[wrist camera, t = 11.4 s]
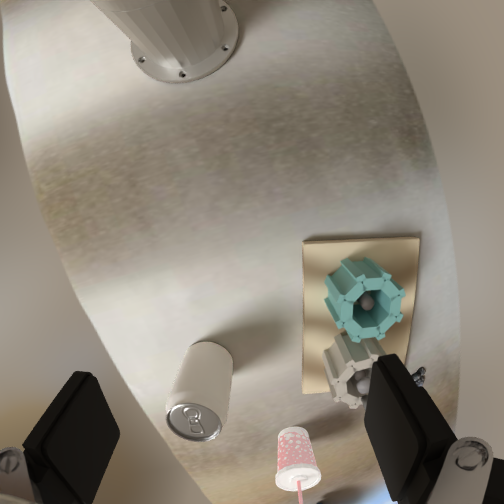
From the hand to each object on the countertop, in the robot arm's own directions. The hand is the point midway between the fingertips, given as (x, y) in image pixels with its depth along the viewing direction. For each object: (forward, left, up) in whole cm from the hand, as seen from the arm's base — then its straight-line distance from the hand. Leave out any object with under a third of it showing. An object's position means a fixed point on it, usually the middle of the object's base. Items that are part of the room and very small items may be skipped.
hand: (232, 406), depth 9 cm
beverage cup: (+30, +5, -27) cm, 41 cm away
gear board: (+10, +13, -27) cm, 32 cm away
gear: (+15, +12, -25) cm, 32 cm away
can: (+15, -6, -27) cm, 32 cm away
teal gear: (+6, +12, -25) cm, 29 cm away
